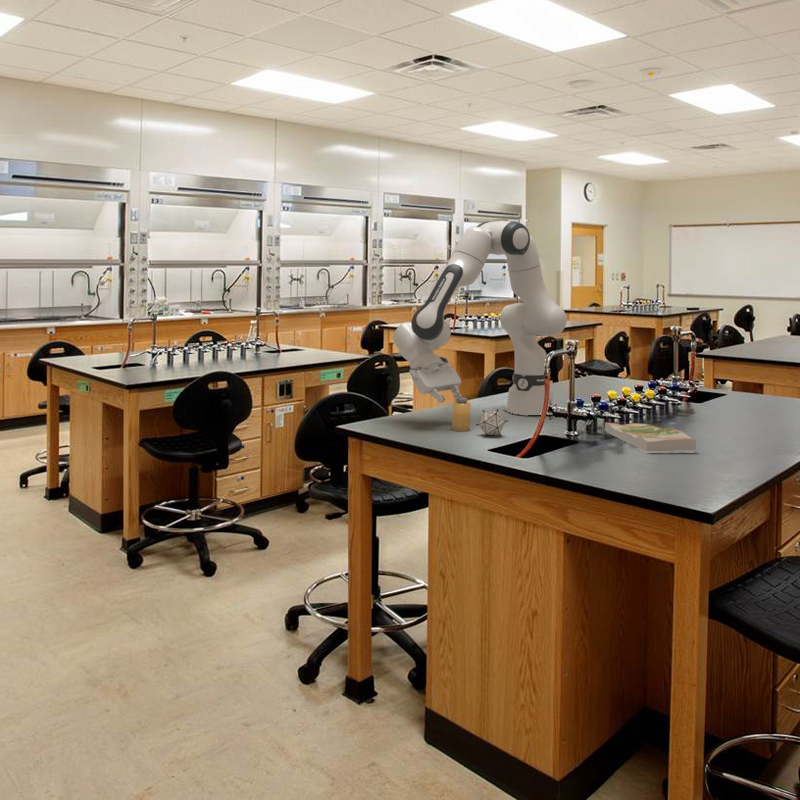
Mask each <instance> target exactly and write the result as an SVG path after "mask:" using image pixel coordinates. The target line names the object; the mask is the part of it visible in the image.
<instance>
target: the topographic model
mask: <svg viewBox="0 0 800 800" xmlns="http://www.w3.org/2000/svg"><path fill="white" fill-rule="evenodd" d="M604 431H606V432H607V433H609V434H611V435H613V436H615V437H617V438H619V439H621V440H623V441H626V442H627V443H630V444H632V445H634V446H636V447H638V448H640V449H642V450H645V451H674V450H695V451H696V446H697V445H696V444H697V439H696V438H692V437H691V436H689V435H688V434H687V433H685V432H684V431H681V430H678V429H676V428H667V427H665V426H659V425H655V424H647V423H638V422H636V423H634V422H632V423H626V424H619V423H616V422H604Z"/></svg>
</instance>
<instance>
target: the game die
mask: <svg viewBox="0 0 800 800" xmlns="http://www.w3.org/2000/svg"><path fill="white" fill-rule="evenodd" d="M499 411H500V410H499V409H498V408H497V409H496V411H495V410H494V411H485V409H482V412H483V413H482V415H481V417H480V419H479V422H478V423H476V424H475V426H478V427H479V428H480V429H481V430H482V431H483V433H484V434H485V438H486V437H488V435H489V436H491V435H499V437H502V434H501V433H502V430H503V428H504V425H505V424H506V423H507V422H509V420H507V419H504V417H503V416H502V415H501V414H500V413H499Z"/></svg>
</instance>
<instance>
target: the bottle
mask: <svg viewBox="0 0 800 800" xmlns="http://www.w3.org/2000/svg"><path fill="white" fill-rule="evenodd" d="M471 406H472V403H471V402H469V401H468V398H467V397H459V398H457V400H456V401H453V403H452V417H451V418H452V419H451V430H452V431H454V430H456V431H455V432H469V431H470V430H471V429H470V428H471V409H472V408H471ZM468 430H469V431H468Z"/></svg>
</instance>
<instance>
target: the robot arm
mask: <svg viewBox="0 0 800 800" xmlns="http://www.w3.org/2000/svg"><path fill="white" fill-rule="evenodd" d="M490 254H491V255H496V256H501V255H505V257H506V262H507V263H506V264H507V271H508V277H509V281H510V282H509V283H510V287H511V290H512V292H513V294H515V295H516V296H517V297H518V298H519V299H520V300H522V302H516V303H512V304H508V305H505V306H504V307H503V309H501V312H500V315H499V321H500V326H501V327H502V329H503V330H505V332H506V333H507V335H508V337H509V338H510V340H511V343H512V346H513V351H514V353H513V354H514V372H513V373H512V377H511V378H512V383H513V384H512V386H510V387H509V388H508V394H507V401H506V402H507V403H506V406H504V407H503V409H502V411H505V410H506V412H508V413H509V412H510V414H512V413H513V414H514V415H518V414H519V415H520V416H528V415H540V413H541V410H542V406H543V402H544V363H545V359H546V360H547V357H548V356H547V352H546V350H545V349H544V348H543V347H542V346H541V345H539V343H538V341H537V337H536V336H542V337H551V336H557V335H560V334H561V333H563V331H564V330H565V329H566V328H565V327H566V325H567V314H566V312H565V311H564V308H562V307H560V306H559V304H557V303H556V302H555V301H554V299H553V298H552V297H551V295H550V294H549V292H548V290H547V288H546V286H545V283H544V277H543V272H542V268H541V266H542V265H541V261H540V256H539V252H538V247H537V245H536V242H535V239H534V238H533V236H532V235H530V232H529V229H528V228H527V226H526V225H524V224H523V223H521V222H518V221H508V220H498V221H497V220H495V221H484V222H481V223H479V224H477V225H476V226H470V227H469V228H467V229H466V230H465V232H464V233H463V234H462V236H461V237H460V238H459V240H458V242H457V243H456V246H455V247H454V250H453V252H452V253H451V255H450V258H449V259H448V262H447V264H446V267H445V268H444V270H443V271H442V273H441V275H440V277H439V278H438V279H437V281H436V283H435V285H434V287H433V288H432V291H431V292H430V294H429V296H428V297H427V299H426V301H425V302H424V303H423V304H422V305H421V307H419V308H418V309H417V310H416V311H415V312H414V314H413V316H412V318H411V322H410V321H409V322H408V321H404V322H403V323H401V324H399V325H398V327H396V329H395V330H394V333H393V336H392V338H393V343H394V345H395V347H396V348H397V350H398V352H399V353H400V355H401V356H402V357H403V358H404V359H405V360H406V361H407V362H408V364H409V365H408V366H409V367H410V369H409V374H410V376H411V380H412V382H413V384H414V386H415V387H416V389H417V390H418V392H419V393H420V394H422V395H425V394H429V395H430V396H431V397H433V398H434V399H436V400H437V402H438V403H439V404H441V403H444V402H445V401H446V398H445V396H444V395H443V394H442V395H441V393H440V392H445V391H451V392H452V394H453V396H452V397H453V398H454V400H455V401H457V398H459V397H462V394H461V393H460V390H459V386H460V385H462V379H461V377H460V375H459V374H458V372H457V371H456V370H455V368H453V366H452V365H451V364H450V363H451V362H450V360H449V359H448V358H446V357H443V356H440V355H438V354H435V352H434V351H435V350H437V349H440V348H441V347H443V346H444V345H446V344H447V343H449V340H450V338H451V336H452V330H451V327H450V324H449V323H448V322H447V321H446V319H445V310H446V309H447V307H448V305H449V303H450V300H451V299H452V298H453V295H454V294H455V293H456V291H457V290H458V289H459V288H460V287H466V286H471V285H472V284H474V283H475V281H477V279H478V277H479V276H480V274H481V272H482V271H483V268H484V267H485V264H486V262H487V259H488V258H489V255H490ZM549 406H554V394H553V392H552V390H550V396H549ZM513 414H512V415H513Z"/></svg>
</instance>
